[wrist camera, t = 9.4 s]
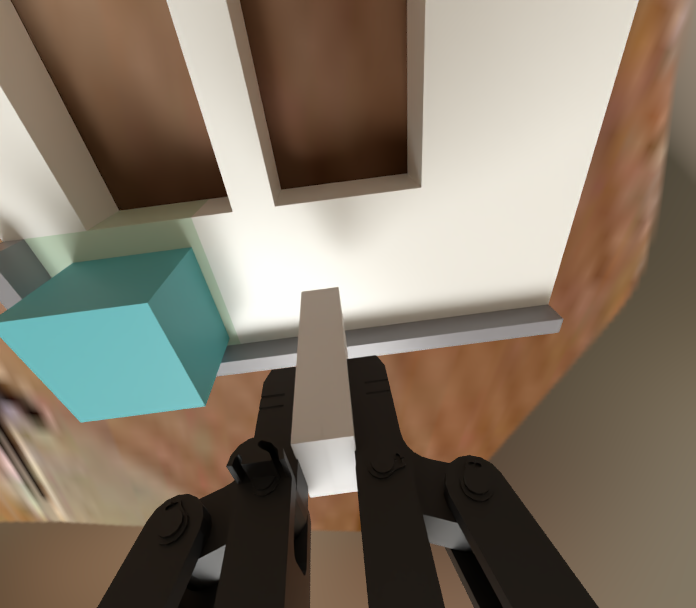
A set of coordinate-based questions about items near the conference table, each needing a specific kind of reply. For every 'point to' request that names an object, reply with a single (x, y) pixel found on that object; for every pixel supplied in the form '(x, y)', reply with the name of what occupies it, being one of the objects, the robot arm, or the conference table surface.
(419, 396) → the conference table surface
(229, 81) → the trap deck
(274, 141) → the conference table surface
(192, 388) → the teal block
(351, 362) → the robot arm
